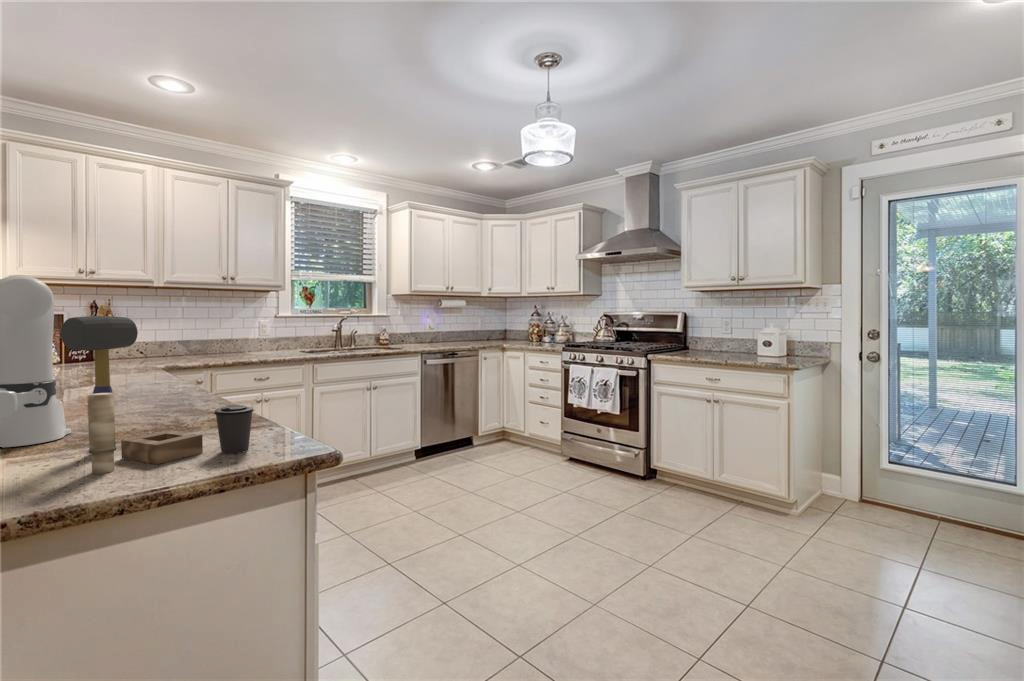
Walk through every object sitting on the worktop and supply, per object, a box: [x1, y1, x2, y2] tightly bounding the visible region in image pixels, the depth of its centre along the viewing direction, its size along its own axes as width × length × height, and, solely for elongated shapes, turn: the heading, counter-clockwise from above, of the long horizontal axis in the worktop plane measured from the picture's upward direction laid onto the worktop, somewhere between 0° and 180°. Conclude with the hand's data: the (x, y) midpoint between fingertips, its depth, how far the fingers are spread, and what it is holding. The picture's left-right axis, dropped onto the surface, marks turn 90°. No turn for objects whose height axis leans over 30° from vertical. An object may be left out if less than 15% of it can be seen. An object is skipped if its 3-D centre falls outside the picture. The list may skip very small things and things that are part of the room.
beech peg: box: [86, 392, 117, 475], centre depth 100 cm, size 4×4×15 cm
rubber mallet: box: [60, 315, 139, 444], centre depth 114 cm, size 12×8×30 cm, turn 167°
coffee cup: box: [213, 404, 255, 454], centre depth 116 cm, size 8×8×10 cm
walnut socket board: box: [120, 429, 204, 465], centre depth 112 cm, size 11×10×4 cm
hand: (20, 394), depth 88 cm, fingers open, 8 cm apart
